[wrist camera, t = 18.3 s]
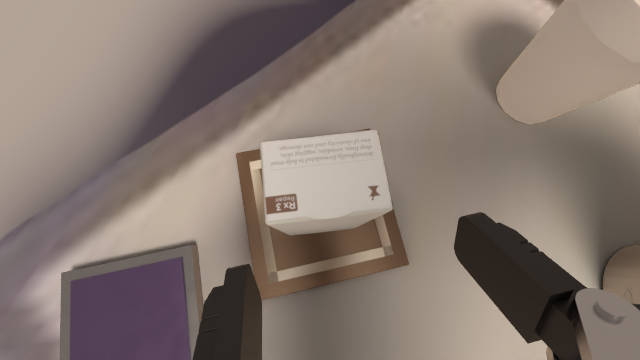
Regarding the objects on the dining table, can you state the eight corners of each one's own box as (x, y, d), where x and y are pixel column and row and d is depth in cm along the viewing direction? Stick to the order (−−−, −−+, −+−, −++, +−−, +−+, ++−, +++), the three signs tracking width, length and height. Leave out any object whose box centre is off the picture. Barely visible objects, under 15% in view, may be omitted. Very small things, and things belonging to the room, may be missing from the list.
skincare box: (348, 182, 25) (383, 120, 13) (355, 231, 24) (401, 209, 12) (281, 190, 25) (257, 131, 13) (285, 240, 24) (264, 226, 12)
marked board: (368, 130, 27) (369, 128, 27) (407, 264, 24) (409, 264, 23) (237, 155, 26) (235, 153, 25) (259, 299, 23) (257, 301, 22)
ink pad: (196, 245, 24) (190, 244, 22) (210, 375, 21) (204, 383, 20) (74, 271, 23) (59, 273, 21) (72, 411, 20) (56, 422, 19)
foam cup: (476, 123, 28) (613, 17, 15) (485, 51, 30) (609, -92, 18) (568, 147, 28) (784, 58, 15) (570, 72, 30) (756, -58, 18)
